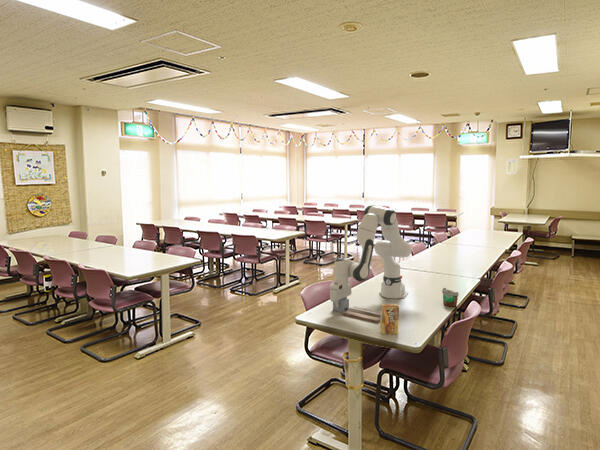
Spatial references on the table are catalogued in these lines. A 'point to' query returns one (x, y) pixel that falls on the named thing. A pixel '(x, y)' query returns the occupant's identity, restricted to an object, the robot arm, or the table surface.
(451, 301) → the food container
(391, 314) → the candy box
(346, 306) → the block
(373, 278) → the table surface
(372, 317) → the rail board
